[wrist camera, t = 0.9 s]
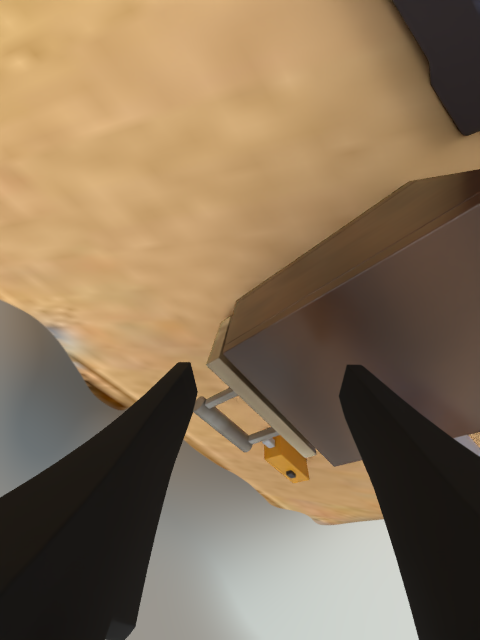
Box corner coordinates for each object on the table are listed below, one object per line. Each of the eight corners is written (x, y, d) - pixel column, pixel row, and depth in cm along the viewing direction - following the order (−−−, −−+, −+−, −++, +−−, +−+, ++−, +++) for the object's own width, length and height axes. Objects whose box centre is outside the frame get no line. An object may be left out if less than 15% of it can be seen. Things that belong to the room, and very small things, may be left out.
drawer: (260, 417, 25) (260, 470, 20) (184, 346, 20) (160, 391, 15) (426, 352, 18) (489, 408, 13) (368, 224, 14) (430, 234, 9)
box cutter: (305, 456, 30) (310, 483, 27) (290, 460, 31) (293, 487, 28) (272, 425, 27) (274, 451, 24) (257, 430, 28) (256, 457, 25)
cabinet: (313, 393, 23) (334, 467, 17) (235, 301, 18) (221, 353, 12) (462, 334, 18) (579, 408, 11) (409, 180, 13) (562, 154, 6)
